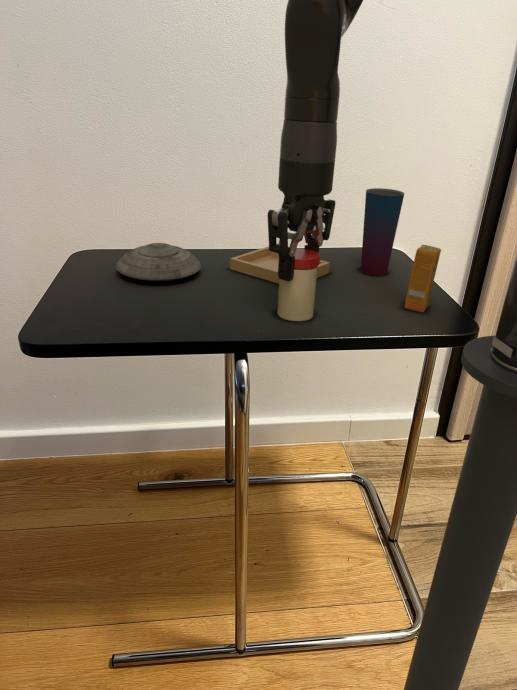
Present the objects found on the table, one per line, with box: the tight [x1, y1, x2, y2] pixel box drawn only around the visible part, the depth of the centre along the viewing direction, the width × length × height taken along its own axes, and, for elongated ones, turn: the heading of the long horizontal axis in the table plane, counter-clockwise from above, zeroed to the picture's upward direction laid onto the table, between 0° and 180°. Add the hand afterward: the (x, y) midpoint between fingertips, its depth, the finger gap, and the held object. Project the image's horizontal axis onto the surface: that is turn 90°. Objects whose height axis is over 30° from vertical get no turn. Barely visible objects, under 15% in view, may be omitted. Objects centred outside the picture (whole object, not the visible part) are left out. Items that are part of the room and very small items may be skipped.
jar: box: [276, 266, 318, 322], centre depth 82 cm, size 6×6×9 cm
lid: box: [294, 247, 321, 269], centre depth 80 cm, size 6×6×1 cm
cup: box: [360, 187, 405, 276], centre depth 101 cm, size 7×7×15 cm
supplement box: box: [404, 244, 442, 313], centre depth 86 cm, size 3×3×10 cm
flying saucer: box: [115, 242, 202, 282], centre depth 97 cm, size 15×15×6 cm
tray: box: [229, 246, 331, 285], centre depth 101 cm, size 15×12×2 cm
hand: (298, 274), depth 81 cm, fingers closed on lid, 5 cm apart
